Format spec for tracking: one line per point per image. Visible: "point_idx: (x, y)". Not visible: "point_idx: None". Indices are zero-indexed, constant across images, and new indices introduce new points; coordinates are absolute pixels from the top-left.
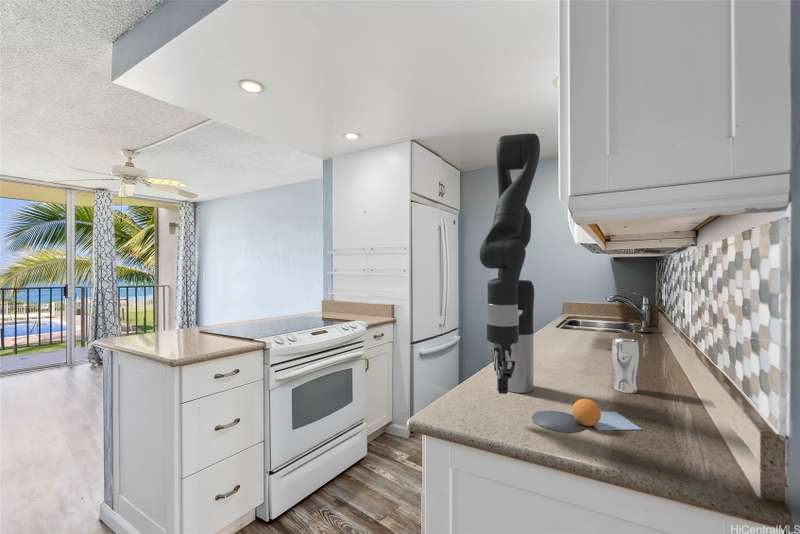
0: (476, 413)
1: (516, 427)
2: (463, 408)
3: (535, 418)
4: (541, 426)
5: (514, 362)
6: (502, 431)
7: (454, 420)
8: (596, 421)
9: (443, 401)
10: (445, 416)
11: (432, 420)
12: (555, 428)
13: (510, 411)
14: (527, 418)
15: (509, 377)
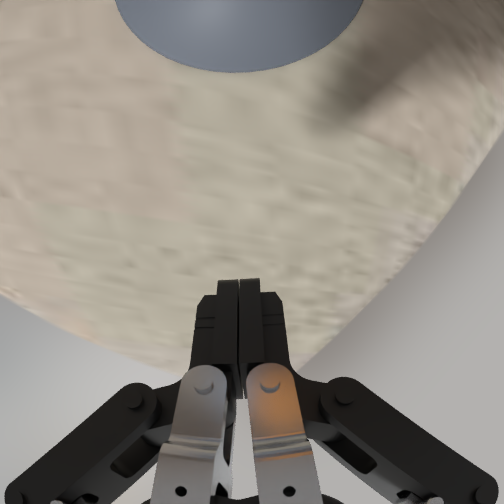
0: (185, 284)
1: (315, 167)
2: (150, 312)
3: (219, 56)
4: (309, 54)
5: (494, 501)
6: (346, 228)
7: None
8: None
9: (115, 347)
10: None
11: None
12: (337, 4)
13: (135, 156)
14: (209, 91)
15: (359, 392)
